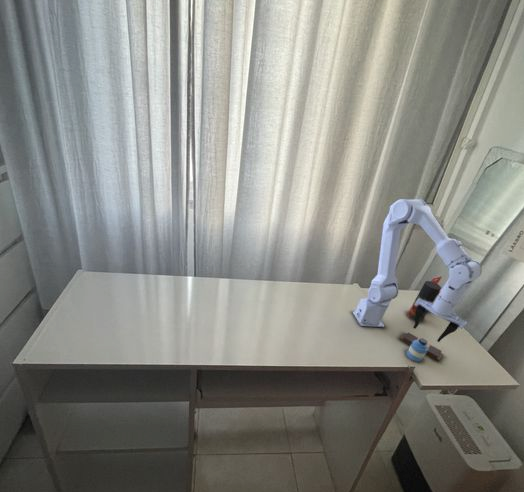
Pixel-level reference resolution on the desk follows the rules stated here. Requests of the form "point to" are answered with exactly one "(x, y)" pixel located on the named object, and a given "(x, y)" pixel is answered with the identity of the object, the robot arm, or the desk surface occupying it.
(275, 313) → the desk surface
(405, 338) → the snack bar
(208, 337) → the desk surface
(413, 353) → the bottle
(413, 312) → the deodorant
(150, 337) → the desk surface
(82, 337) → the desk surface
